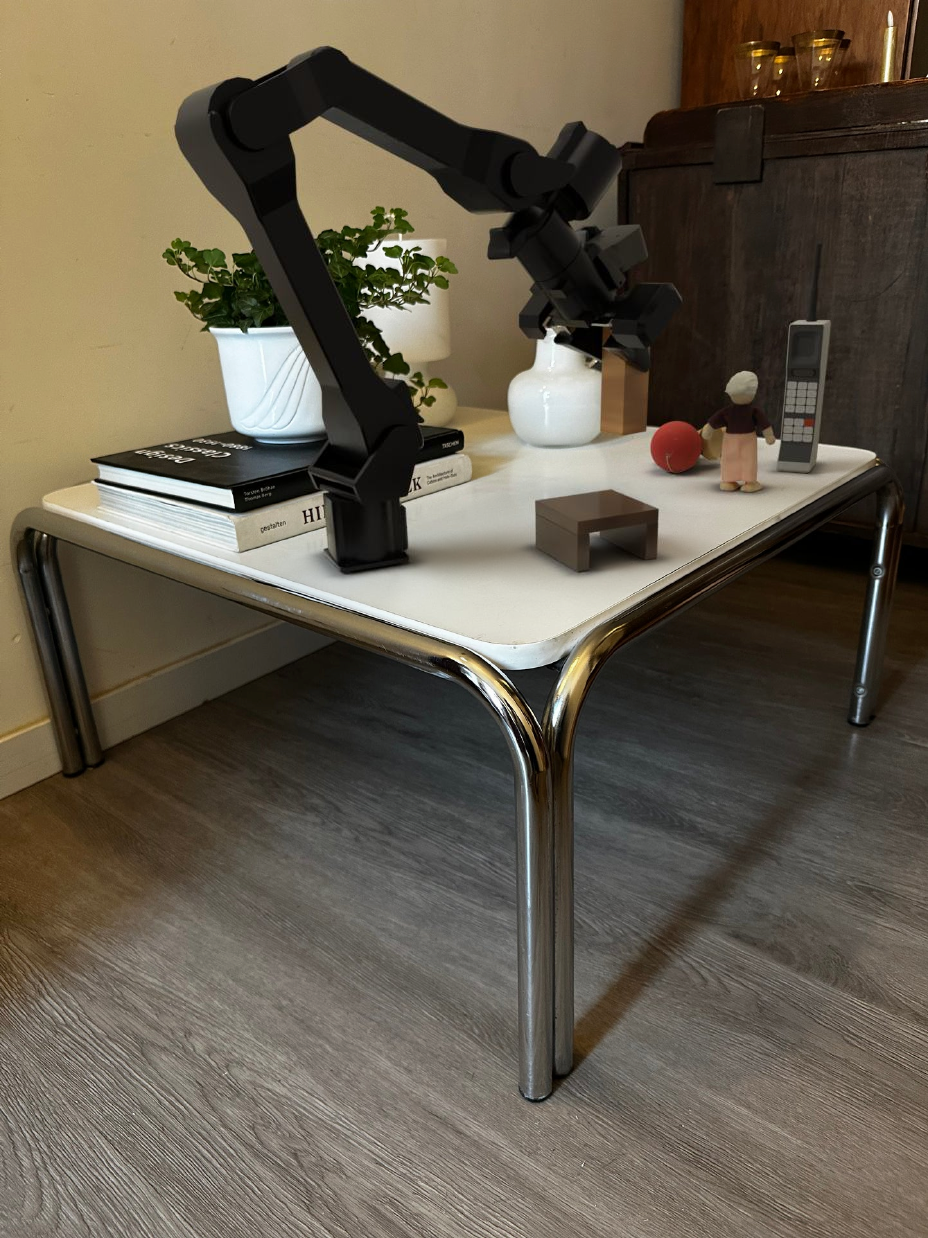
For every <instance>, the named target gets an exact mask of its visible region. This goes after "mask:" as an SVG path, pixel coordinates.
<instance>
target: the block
mask: <svg viewBox="0 0 928 1238" xmlns="http://www.w3.org/2000/svg"><path fill="white" fill-rule="evenodd" d="M611 327H612V326H608V327H607V326H603V340H602V346H603V345H604V343H605V342H606V340H607V339H608V338H609V336H610V335H611V331H610V328H611ZM648 350H649V355H651V346H650V347H648ZM649 376H650V369H649V370H648V371H647V372H646V373H644V372H642V371H640V370H638V369H636V368H634V367H633V366H631V365H630V364H628V363H626V362H625V361H623V360H622V359H620V358H618V357H617V356H615V355H614V354H612V353H610V352H609V351H607V350H606V349H604V348H603V347H602V362H601V379H600V381H601V383H600V384H601V385H600V386H601V387H600V420H599V421H600V422H599V424H600V425H599V429H600V430H599V431H600V432H602V433H607V434H610V435H611V434H612V435H617V436H628V435H635V434H639V433H640V434H641V433H645V432H647V426H648V425H647V423H648V422H647V421H648V403H649V402H648V400H649V378H650V377H649Z"/></svg>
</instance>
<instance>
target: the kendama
mask: <svg viewBox="0 0 928 1238" xmlns="http://www.w3.org/2000/svg"><path fill="white" fill-rule="evenodd" d="M707 424H708V423H706V424H704V426H702V428H701V429H699V430H697V428H695V427H694V426H693V425H692V424H690V423H688V422H685V421H680V420H673V421H669V422H667V423H666V422H665V423H664V424H663V425H661V426H660V427H659V428H657V430H656V431H655V432H654V434H653V436H651V441H650V444H649V446H650V455H651V458H652V460H653V462H654V463H655V465H657V466H658V467H659V468H660V469H661V470H663V471H666V472H669V473H674V474H680V473H681V472H685V471H687V470H689V469H691V468H692V467H694V465H695V464H696V463H697V462H698V461H699V459H700V457H701V456H702V457H703V458H704V459H705V460H707V461H716V460H718V459H719V458H721V455H722V444H723V437H724V433H725V431H726V427H723V428H719V429H716V430H715V431H714V432H713V433H712V437H711V438H710V439H704V438H703V436H702V434H703V432H704V431H705V430H706V426H707Z"/></svg>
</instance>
